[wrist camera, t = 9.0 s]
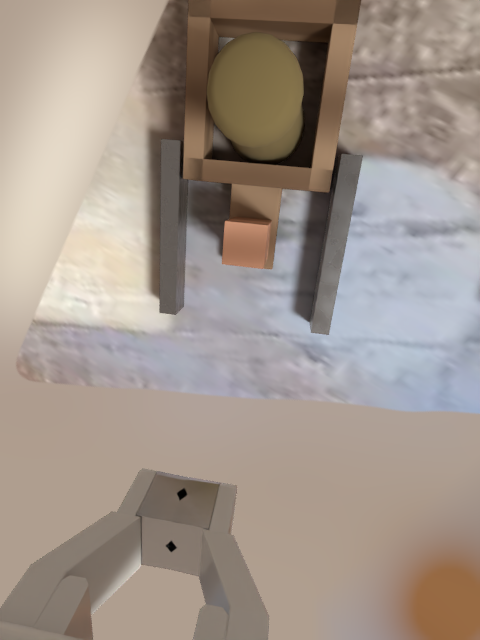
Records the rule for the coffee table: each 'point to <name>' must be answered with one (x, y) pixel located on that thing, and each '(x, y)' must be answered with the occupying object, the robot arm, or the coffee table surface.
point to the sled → (246, 178)
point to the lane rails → (176, 221)
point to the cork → (258, 97)
